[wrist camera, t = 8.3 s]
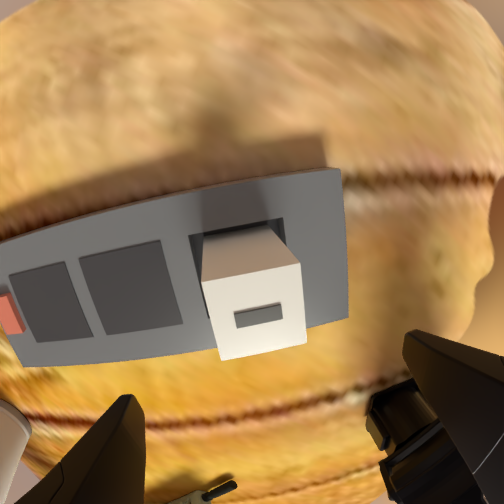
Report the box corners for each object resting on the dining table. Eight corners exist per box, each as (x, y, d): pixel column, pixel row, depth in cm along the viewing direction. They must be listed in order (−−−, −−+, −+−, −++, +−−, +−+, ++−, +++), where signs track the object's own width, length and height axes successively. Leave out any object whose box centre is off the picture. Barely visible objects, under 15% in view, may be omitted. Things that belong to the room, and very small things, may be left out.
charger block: (267, 224, 18) (301, 263, 12) (275, 282, 20) (307, 343, 13) (203, 236, 18) (201, 283, 11) (216, 294, 19) (221, 362, 13)
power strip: (327, 167, 18) (344, 169, 16) (337, 304, 21) (351, 321, 19) (-52, 261, 15) (-68, 271, 13) (-12, 355, 19) (-23, 370, 16)
